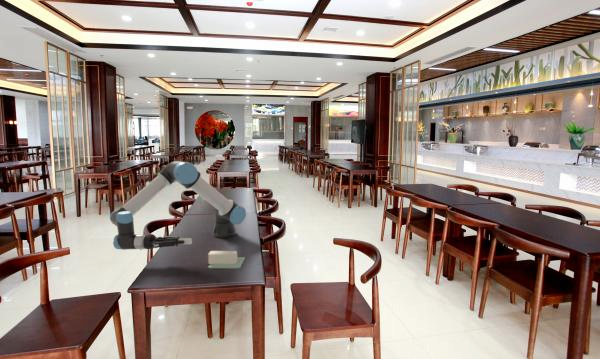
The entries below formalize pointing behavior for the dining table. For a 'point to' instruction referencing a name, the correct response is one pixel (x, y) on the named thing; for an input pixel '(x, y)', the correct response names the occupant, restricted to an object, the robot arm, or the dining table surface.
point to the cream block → (222, 257)
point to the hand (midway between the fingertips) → (191, 241)
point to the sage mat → (237, 265)
